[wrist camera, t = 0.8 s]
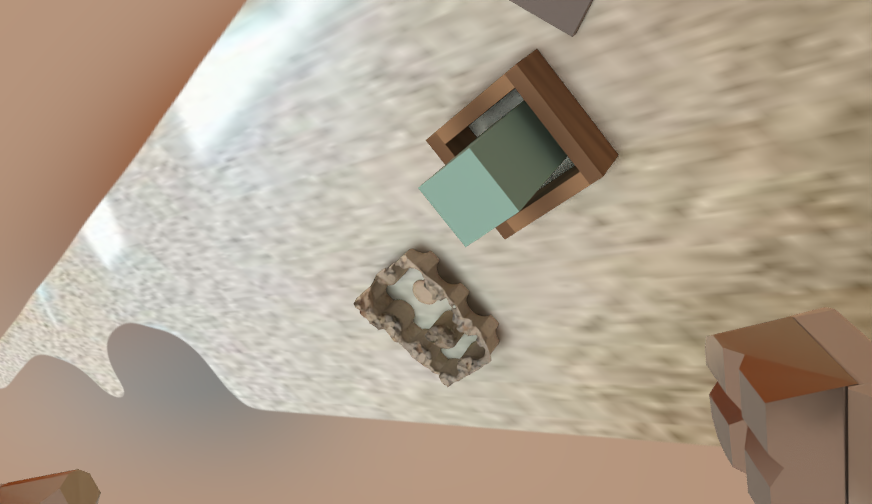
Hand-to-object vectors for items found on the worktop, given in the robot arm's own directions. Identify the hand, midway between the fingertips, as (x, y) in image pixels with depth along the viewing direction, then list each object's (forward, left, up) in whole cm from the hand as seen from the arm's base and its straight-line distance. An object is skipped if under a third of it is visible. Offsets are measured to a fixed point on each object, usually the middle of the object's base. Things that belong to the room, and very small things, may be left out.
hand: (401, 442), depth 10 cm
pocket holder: (+16, -6, -38) cm, 42 cm away
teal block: (+16, -6, -39) cm, 42 cm away
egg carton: (+33, -6, -39) cm, 51 cm away
